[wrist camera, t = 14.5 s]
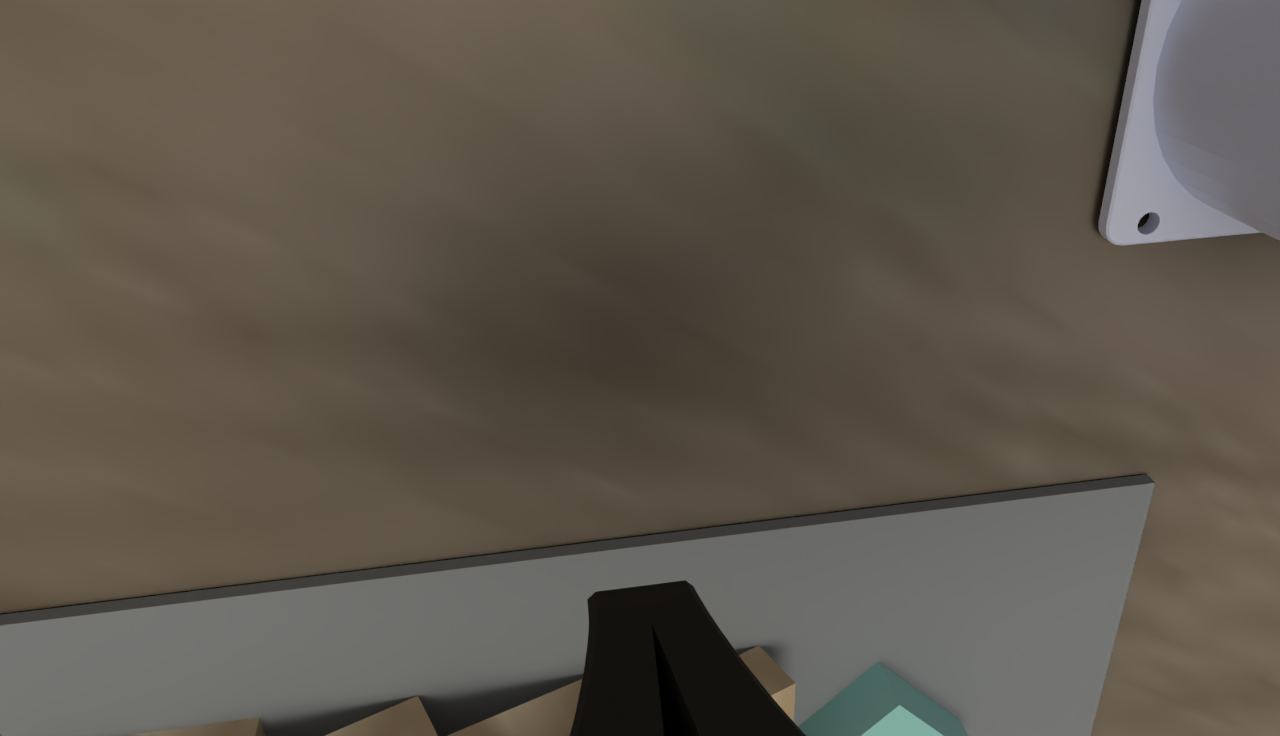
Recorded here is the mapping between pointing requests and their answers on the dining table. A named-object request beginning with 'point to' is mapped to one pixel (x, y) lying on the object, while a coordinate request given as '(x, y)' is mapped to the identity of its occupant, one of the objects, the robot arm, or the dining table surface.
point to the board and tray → (559, 622)
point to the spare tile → (882, 710)
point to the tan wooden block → (533, 716)
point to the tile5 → (216, 729)
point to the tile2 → (771, 678)
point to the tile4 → (393, 722)
